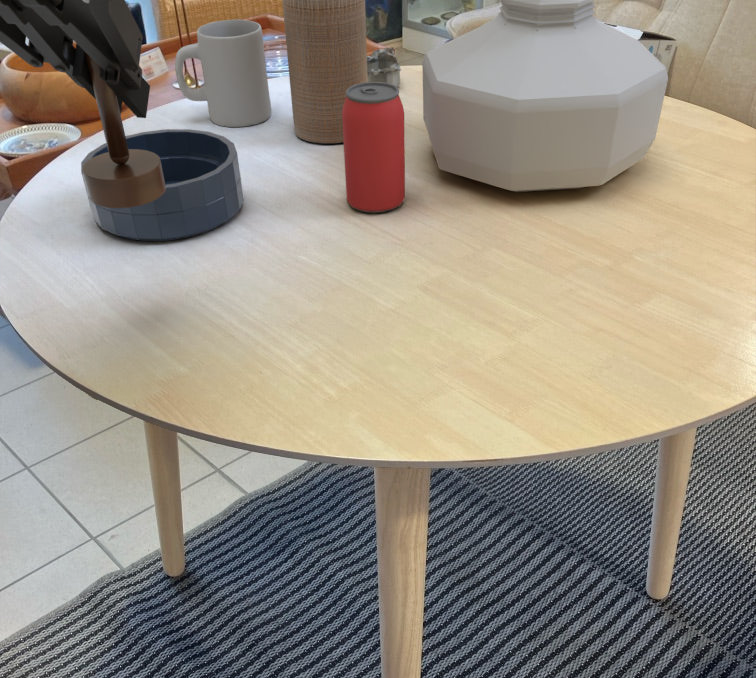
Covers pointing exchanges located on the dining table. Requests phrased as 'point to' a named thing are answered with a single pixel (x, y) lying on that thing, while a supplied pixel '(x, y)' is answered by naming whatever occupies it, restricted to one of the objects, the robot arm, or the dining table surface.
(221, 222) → the bowl
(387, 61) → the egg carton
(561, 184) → the pot
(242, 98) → the mug
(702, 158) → the dining table surface
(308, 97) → the vase
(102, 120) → the brown handled stamp
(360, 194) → the beer can
